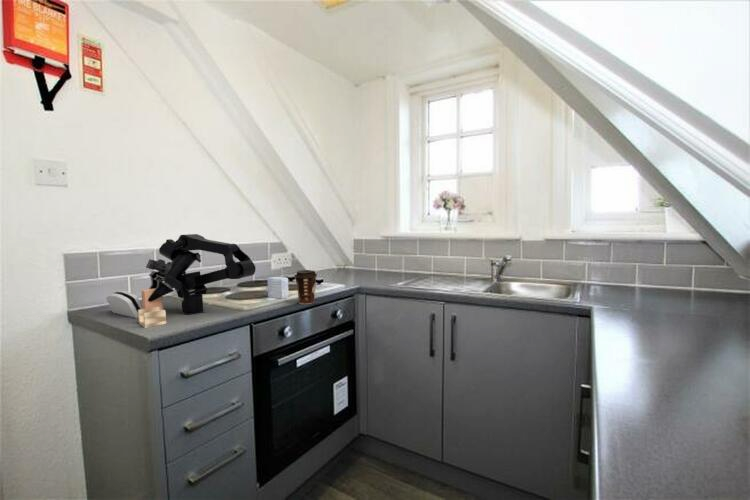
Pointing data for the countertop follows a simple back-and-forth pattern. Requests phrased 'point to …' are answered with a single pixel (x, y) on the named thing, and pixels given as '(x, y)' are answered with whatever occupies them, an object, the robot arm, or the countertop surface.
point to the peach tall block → (154, 303)
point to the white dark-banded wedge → (124, 303)
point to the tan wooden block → (151, 317)
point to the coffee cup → (306, 286)
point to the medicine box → (278, 287)
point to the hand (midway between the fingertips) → (147, 300)
